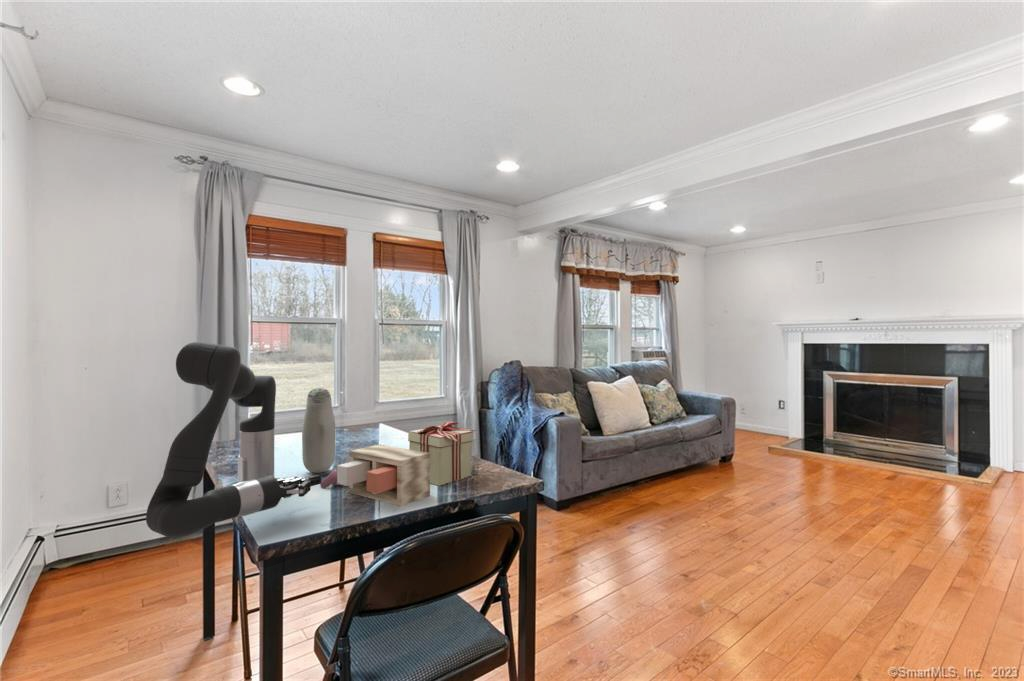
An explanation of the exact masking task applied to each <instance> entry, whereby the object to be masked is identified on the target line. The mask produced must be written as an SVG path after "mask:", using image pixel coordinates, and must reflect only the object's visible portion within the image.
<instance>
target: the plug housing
mask: <svg viewBox="0 0 1024 681" xmlns="http://www.w3.org/2000/svg"><path fill="white" fill-rule="evenodd" d="M348 455H349V460H348V461H349V462H353V461H357V460H366V461H370V471H371V470H375V469H378V468H382V467H386V466H389V465H391V466H396V467H397V487H395V488H392V489H389V490H386V491H383V492H380V493H373V492H369V491H367V480H365V481H362V482H358V483H355V484H352V485H348V487H349V488H348V490H349V493H350V494H353V495H357V496H361V497H365V498H367V497H368V498H367V499H371V500H375V501H378V502H379V501H380V502H384V503H386V502H387V504H391V505H394V506H398V507H403V506H406V505H409V504H411V503H413V502H416V501H419V500H422V499H424V497H425V498H426V497H430V496H431V484H430V453H427V452H421V451H415V450H409V448H402V447H398V446H390V445H386V444H380V443H379V444H376V445H375V444H374V445H370V446H366V447H362V448H357V449H353V450H349V454H348ZM349 462H348V463H349Z"/></svg>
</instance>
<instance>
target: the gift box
mask: <svg viewBox="0 0 1024 681" xmlns="http://www.w3.org/2000/svg"><path fill="white" fill-rule="evenodd" d="M453 425H459V422H455V421H446V422H443V423H441V425H438V426H436V425H430V426H428V427H426V428H420V429H415V430H409V431H408V435H407V437H408V438H407V441H408V442H409V446H408V447H409V448H408V449H409V450H415V451H421V452H427V453H430V483H431V484H430V485H435V486H437V485H438V487H441V485H442V486H444V484H445V485H447V484H446V483H448V484H450V483H449V482H452V483H454V482H453V481H455V480H458V481H460V480H459V479H461V478H464V477H467V476H471V477H472V451H473V450H472V448H473V447H472V446H473V441H474V432H477V429H476V430H475V429H469V428H465V427H464V428H463V427H455V426H453ZM461 480H462V479H461ZM455 482H456V481H455Z"/></svg>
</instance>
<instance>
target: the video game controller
mask: <svg viewBox="0 0 1024 681" xmlns="http://www.w3.org/2000/svg"><path fill="white" fill-rule="evenodd" d="M331 485H333V486H335V487H337V486H338V485H339V484H337V466H336V467H335V468H334V469H333V470H332V471H331V472H330V473H329V474H328V475H327V476H326V477H324V478H323V479H321V484H320V487H321V488H322V489H323V488H324V489H325V488H328V487H331ZM336 485H337V486H336Z"/></svg>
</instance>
